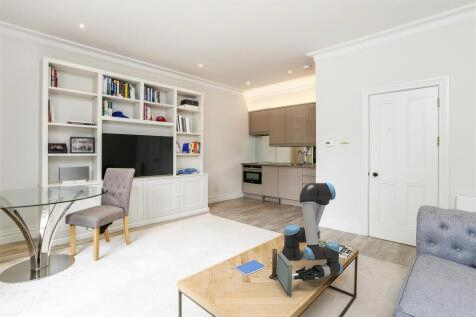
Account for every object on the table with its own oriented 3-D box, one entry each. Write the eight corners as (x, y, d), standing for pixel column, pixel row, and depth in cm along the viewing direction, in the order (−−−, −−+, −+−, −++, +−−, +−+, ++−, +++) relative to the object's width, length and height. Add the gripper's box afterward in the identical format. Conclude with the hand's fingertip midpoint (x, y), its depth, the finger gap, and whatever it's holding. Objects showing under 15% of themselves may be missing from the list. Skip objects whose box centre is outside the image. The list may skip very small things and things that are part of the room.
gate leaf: (276, 275, 151) (276, 251, 151) (280, 275, 152) (280, 251, 151) (288, 294, 132) (288, 266, 131) (292, 293, 132) (293, 265, 132)
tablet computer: (254, 261, 176) (254, 259, 176) (266, 267, 166) (266, 265, 166) (234, 269, 163) (234, 267, 163) (246, 276, 154) (246, 274, 154)
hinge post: (269, 277, 151) (269, 249, 151) (272, 274, 156) (273, 247, 155) (276, 280, 149) (276, 251, 148) (279, 276, 153) (280, 249, 152)
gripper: (328, 282, 141) (295, 290, 132) (313, 272, 153) (282, 279, 144) (328, 269, 141) (295, 277, 132) (313, 260, 153) (282, 266, 144)
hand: (288, 278), depth 138 cm, fingers closed
